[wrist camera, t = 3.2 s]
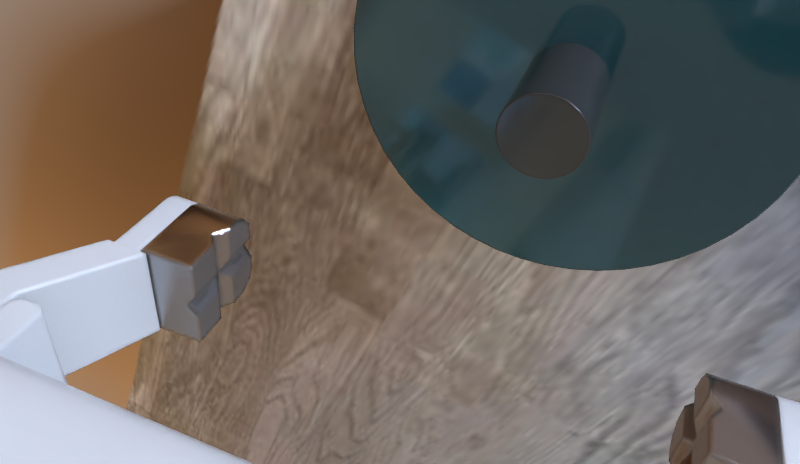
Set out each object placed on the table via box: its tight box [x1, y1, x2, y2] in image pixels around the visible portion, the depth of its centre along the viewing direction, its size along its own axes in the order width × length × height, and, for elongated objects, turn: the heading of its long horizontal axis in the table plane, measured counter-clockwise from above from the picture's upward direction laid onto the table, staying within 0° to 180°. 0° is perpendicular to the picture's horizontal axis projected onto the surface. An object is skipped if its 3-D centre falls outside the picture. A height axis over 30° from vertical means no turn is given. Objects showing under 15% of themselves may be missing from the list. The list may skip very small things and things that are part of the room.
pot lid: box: [354, 0, 800, 271], centre depth 19 cm, size 14×14×5 cm
